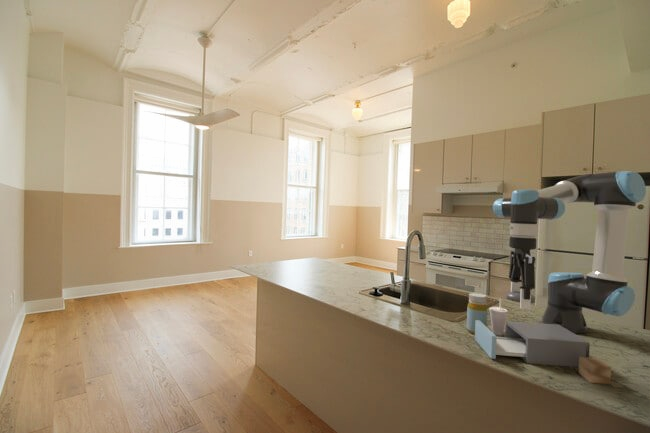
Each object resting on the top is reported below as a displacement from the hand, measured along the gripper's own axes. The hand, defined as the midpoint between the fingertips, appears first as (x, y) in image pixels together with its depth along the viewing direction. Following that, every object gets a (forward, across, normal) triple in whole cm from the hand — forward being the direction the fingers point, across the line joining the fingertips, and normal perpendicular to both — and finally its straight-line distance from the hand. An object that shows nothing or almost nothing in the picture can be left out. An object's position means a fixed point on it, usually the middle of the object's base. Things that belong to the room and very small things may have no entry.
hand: (519, 304), depth 101 cm
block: (+17, +9, +17) cm, 26 cm away
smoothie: (+18, -19, -1) cm, 26 cm away
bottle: (+18, -18, -9) cm, 27 cm away
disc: (-2, 0, 0) cm, 2 cm away
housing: (+17, -4, +9) cm, 20 cm away
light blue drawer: (+17, -3, -1) cm, 17 cm away
